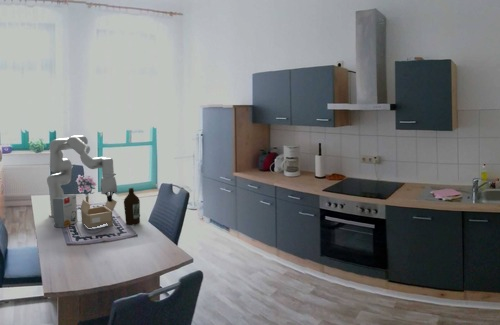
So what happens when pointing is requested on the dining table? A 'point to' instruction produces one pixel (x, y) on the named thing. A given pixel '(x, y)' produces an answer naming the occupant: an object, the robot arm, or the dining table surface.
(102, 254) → the dining table surface
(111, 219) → the carton
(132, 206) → the olive oil
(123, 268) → the dining table surface
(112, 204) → the flap
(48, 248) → the dining table surface
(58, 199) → the hard drive box
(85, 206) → the flap
